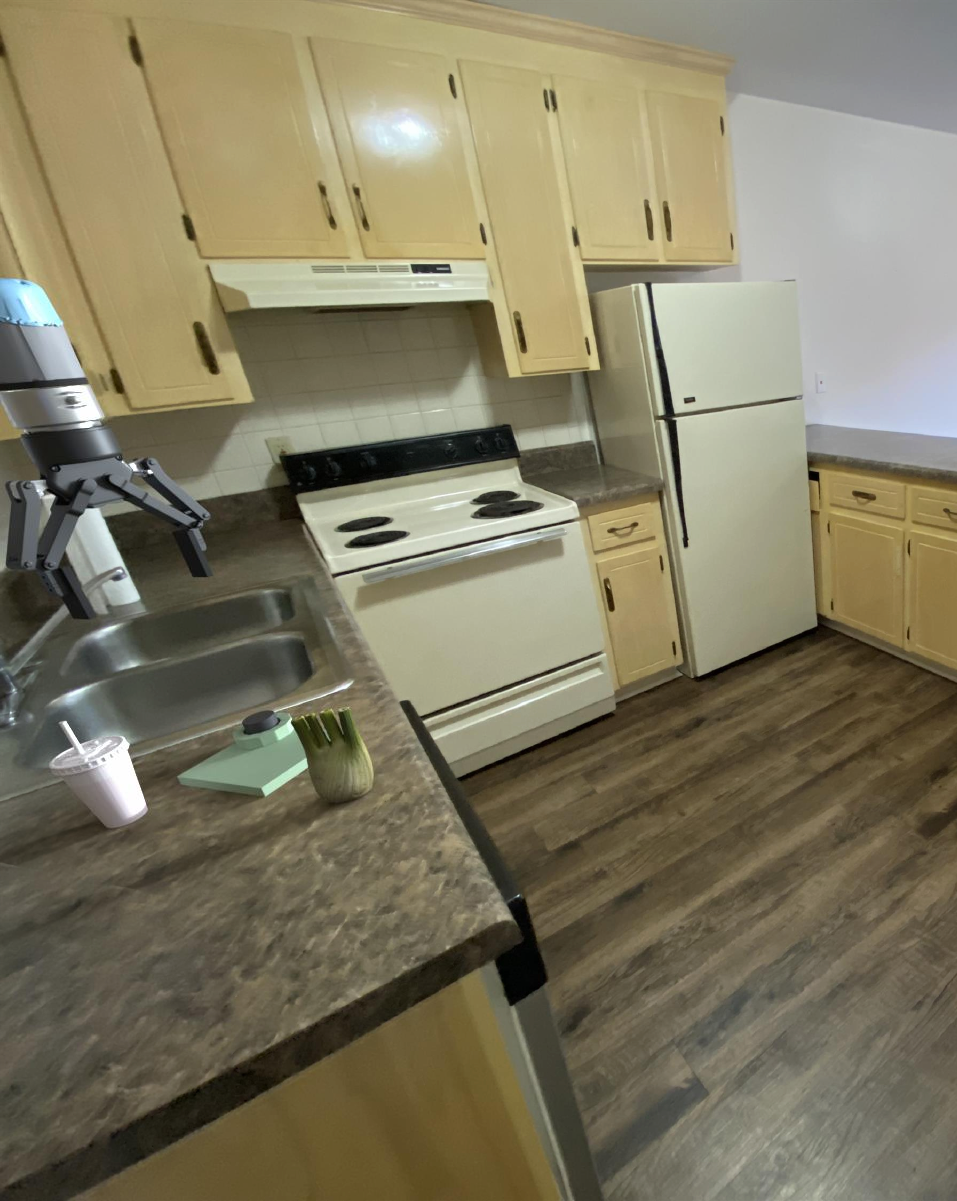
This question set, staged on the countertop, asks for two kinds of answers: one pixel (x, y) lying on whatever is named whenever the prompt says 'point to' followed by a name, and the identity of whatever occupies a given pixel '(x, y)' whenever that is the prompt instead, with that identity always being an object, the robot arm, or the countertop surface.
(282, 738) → the scale
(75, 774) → the smoothie
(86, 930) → the countertop surface
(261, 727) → the button
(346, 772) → the fennel bulb
